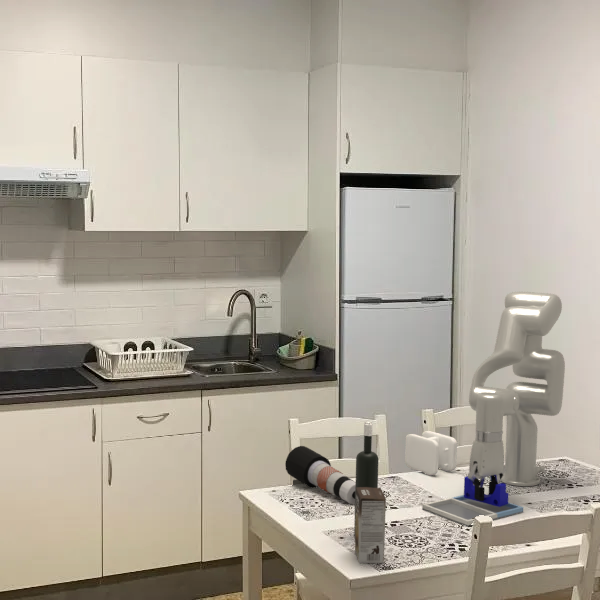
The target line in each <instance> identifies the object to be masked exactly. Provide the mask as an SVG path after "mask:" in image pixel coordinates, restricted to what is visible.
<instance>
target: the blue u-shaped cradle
mask: <svg viewBox="0 0 600 600" xmlns="http://www.w3.org/2000/svg"><path fill="white" fill-rule="evenodd" d="M463 480H464V481H463V482H464V483H463V495H464V498H467V499H471V500H475V501H479V500H477V499H475V498H474V495H475V486H474V485H473V483H472V481H471V480H470V479H469V478H468V475H467V476H464V479H463ZM509 498H510V497H509V492H507V484H506V483H504V482H500V484H497V485H496V488H495V491H494V493H493V494H489V493H488V494H486V493H484V501H479V502H483V503H487V504H490V505H494V506H498V507H501V506H503V505H506V504H508V502H509Z"/></svg>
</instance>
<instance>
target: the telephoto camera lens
mask: <svg viewBox="0 0 600 600" xmlns="http://www.w3.org/2000/svg"><path fill="white" fill-rule="evenodd" d="M285 470H286V472H287V474H288V475H289V476H290V477H292V478H294V479H295V480H297V481H299V482H300V483H301V484H303V485H305V486H306V487H308V488H311V489H315V488H316V487H317V488H319V489H320V490H323V491H324V492H326V493H328V494H331V495H333V496H335V497H337V498H339V499H340V500H341V501H345V502H347V503H348V504H350V505H355V484H356V481H354V480H353V479H351V478H349V476H346V475H345V474H344V473H342V472H341V471H340V470H337V469H336V468H334V467H333V466H332V465H331V461H330V460H329V459H328V458H327V457H325V456H323V455H321V454H319V453H318V452H316V451H314V450H312V449H311V448H309V447H307V446H305V445H299V446H296V447H294V448H293V449H292V450H291V451H290V452H289V453H288V455H287V457H286V459H285ZM317 488H316V489H317Z"/></svg>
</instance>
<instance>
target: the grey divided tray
mask: <svg viewBox="0 0 600 600" xmlns="http://www.w3.org/2000/svg"><path fill="white" fill-rule="evenodd" d="M421 506H422V509H421V510H423V511H426V512H428V513H430V514H433V515H436V516H438V517H442V518H443V519H447V520H450V521H452V522H454V523H457V524H459V523H460V525H462V524H463V526H464V525H466V526H465V527H467V526H469V525H471V524H472V523H473V520H474V519H472V518H474V517H476V516H479V515H484V516H489V517H491V518H492V519H493V520H492V521H495V520H498V519H499V520H500V519H503V518H507V517H511V516H514V515H515V516H516V515H518V514H522V513H524V506H522V505H519V504H518V505H517V504H514V503H511V502H509V501H508V504H506V505H503V506H501V507H498V506H494V505H490V504H487V503H483V502H479V501H475V500H471V499H467V498H464V494H462V495H458V496H454V497H449V498H445V499H440V500H436V501H431V502H427V503H423V504H422V505H421ZM469 527H470V526H469Z"/></svg>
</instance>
